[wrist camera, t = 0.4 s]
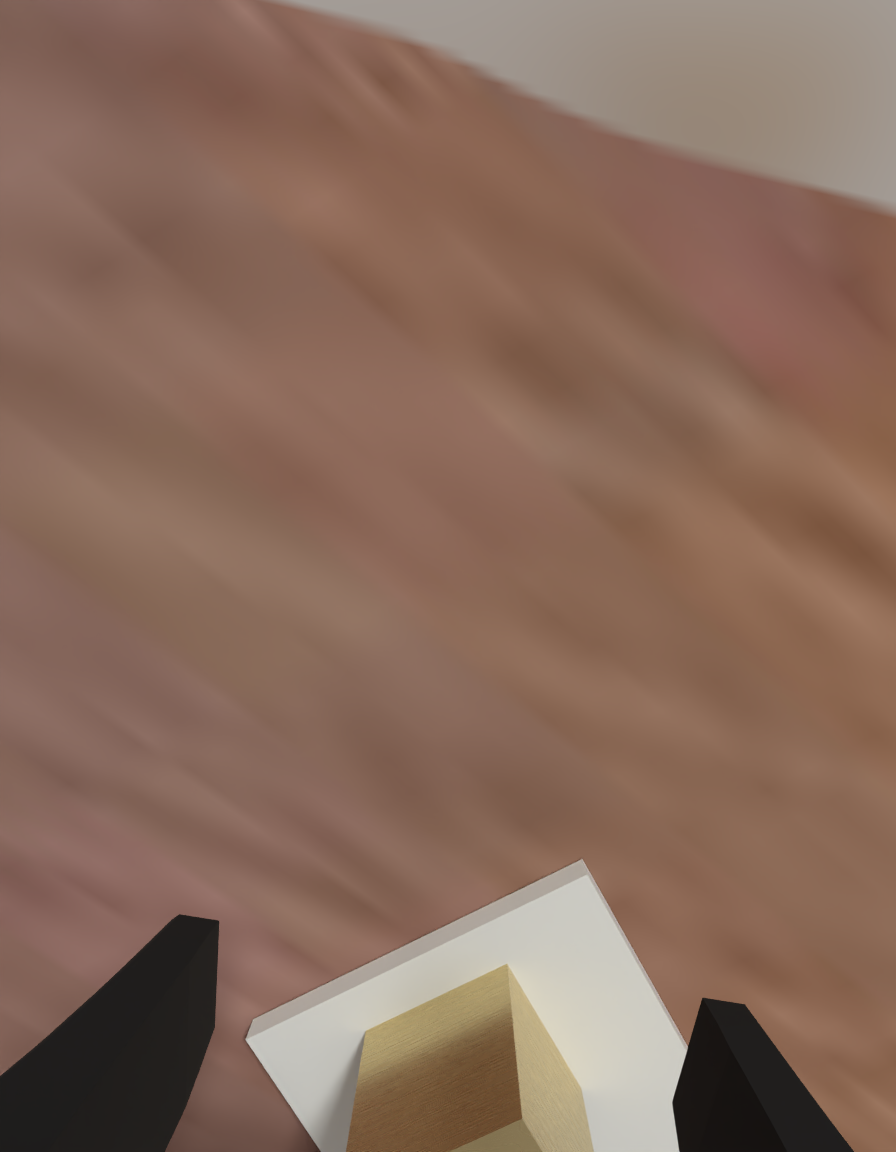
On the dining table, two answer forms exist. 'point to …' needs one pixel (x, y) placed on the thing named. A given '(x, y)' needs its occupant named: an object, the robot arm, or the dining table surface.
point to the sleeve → (467, 1078)
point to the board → (549, 980)
